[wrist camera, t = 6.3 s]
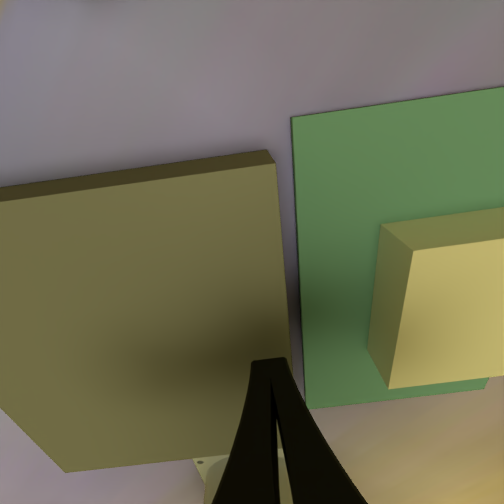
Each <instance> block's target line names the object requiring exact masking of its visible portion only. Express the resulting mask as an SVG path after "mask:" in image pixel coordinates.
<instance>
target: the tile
mask: <svg viewBox="0 0 504 504" xmlns="http://www.w3.org/2000/svg"><path fill="white" fill-rule="evenodd" d="M367 350H368V352H369V354H370V356H371V358H372V360H373V362H374V364H375V365H376V367H377V369H378V371H379V373H380V375H381V377H382V379H383V381H384V382H385V384H386V386H387V388H388V389H396V388H404V387H412V386H421V385H429V384H437V383H445V382H454V381H462V380H470V379H478V378H487V377H495V376H503V375H504V207H500V208H493V209H486V210H478V211H471V212H464V213H457V214H450V215H443V216H436V217H428V218H421V219H414V220H407V221H400V222H393V223H385V224H381V225H380V234H379V243H378V253H377V262H376V271H375V280H374V290H373V299H372V308H371V318H370V327H369V336H368V346H367Z"/></svg>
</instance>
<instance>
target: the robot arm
mask: <svg viewBox="0 0 504 504" xmlns="http://www.w3.org/2000/svg"><path fill="white" fill-rule="evenodd" d="M277 424H278V429H279V434H280V439H281V444H282V448H281V449H278V441H277ZM193 461H194V463H195V465H196V467H197V470H198V472H199V474H200V476H201V478H202V480H203V482H204V484H205V493H204V504H368V503H367V502H366V500H365V499H364V498H363V496H362V495H361V494H360V492H359V491H358V489H357V488H356V486H355V485H354V483H353V482H352V480H351V479H350V478H349V476H348V475H347V473H346V472H345V470H344V469H343V467H342V466H341V464H340V462H339V461H338V459H337V458H336V456H335V455H334V453H333V451H332V450H331V448H330V447H329V445H328V443H327V442H326V440H325V438H324V437H323V435H322V433H321V432H320V430H319V428H318V426H317V425H316V423H315V421H314V419H313V417H312V416H311V414H310V412H309V410H308V408H307V406H306V404H305V402H304V400H303V398H302V396H301V394H300V392H299V390H298V388H297V385H296V383H295V381H294V378H293V376H292V373H291V371H290V368H289V365H288V362H287V358H285V357H278V358H270V359H262V360H253V361H252V362H251V369H250V377H249V384H248V389H247V394H246V399H245V403H244V407H243V411H242V415H241V419H240V423H239V426H238V429H237V433H236V436H235V439H234V443H233V446H232V449H231V452H230V454H228V455H219V456H210V457H202V458H193Z"/></svg>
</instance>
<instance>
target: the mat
mask: <svg viewBox="0 0 504 504" xmlns="http://www.w3.org/2000/svg"><path fill="white" fill-rule="evenodd" d="M290 119H291V138H292V157H293V176H294V196H295V215H296V234H297V253H298V273H299V292H300V311H301V331H302V350H303V369H304V388H305V404H306V406H307V408H308V409H317V408H326V407H334V406H343V405H351V404H360V403H369V402H377V401H386V400H394V399H403V398H411V397H420V396H429V395H437V394H446V393H454V392H463V391H472V390H480V389H484V387H485V385H486V383H487V381H488V379H489V377H487V378H478V379H470V380H462V381H454V382H445V383H437V384H429V385H421V386H412V387H404V388H396V389H388V388H387V386H386V384H385V382H384V381H383V379H382V377H381V375H380V373H379V371H378V369H377V367H376V365H375V364H374V362H373V360H372V358H371V356H370V354H369V352H368V350H367V346H368V336H369V327H370V318H371V308H372V299H373V290H374V280H375V271H376V262H377V253H378V243H379V234H380V225H381V224H385V223H393V222H400V221H407V220H414V219H421V218H428V217H436V216H443V215H450V214H457V213H464V212H471V211H478V210H486V209H493V208H500V207H504V87H497V88H490V89H483V90H476V91H470V92H463V93H456V94H449V95H442V96H435V97H428V98H421V99H414V100H408V101H401V102H394V103H387V104H380V105H373V106H366V107H359V108H353V109H346V110H339V111H332V112H325V113H318V114H311V115H304V116H297V117H291V118H290Z"/></svg>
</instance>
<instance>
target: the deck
mask: <svg viewBox="0 0 504 504" xmlns="http://www.w3.org/2000/svg"><path fill="white" fill-rule="evenodd" d="M278 357H285V358H287V362H288V365H289V368H290V371H291V373H292V376H293V368H292V356H291V343H290V331H289V319H288V307H287V295H286V282H285V270H284V258H283V246H282V234H281V221H280V209H279V197H278V185H277V173H276V163H275V161H274V160H273V158H272V157H271V155H270V154H269V152H268V151H267V150H260V151H253V152H246V153H239V154H232V155H225V156H218V157H211V158H204V159H197V160H190V161H183V162H176V163H169V164H162V165H155V166H148V167H141V168H134V169H127V170H120V171H113V172H106V173H99V174H92V175H85V176H78V177H71V178H64V179H57V180H50V181H43V182H36V183H29V184H22V185H15V186H8V187H1V188H0V408H1V409H2V410H3V411H4V412H5V413H6V414H7V415H8V416H9V417H10V418H11V419H12V420H13V421H14V422H15V423H16V424H17V425H18V426H19V427H20V428H21V429H22V430H23V431H24V432H25V433H26V434H27V435H28V436H29V437H30V438H31V439H32V440H33V441H34V442H35V443H36V444H37V445H38V446H39V447H40V448H41V449H42V450H43V451H44V452H45V453H46V454H47V455H48V456H49V457H50V458H51V459H52V460H53V461H54V462H55V463H56V464H57V465H58V466H59V467H60V468H61V469H62V470H63V471H64V472H65V473H69V472H78V471H86V470H95V469H104V468H113V467H122V466H131V465H140V464H148V463H157V462H166V461H175V460H184V459H193V458H202V457H210V456H219V455H228V454H230V452H231V449H232V446H233V443H234V439H235V436H236V433H237V429H238V426H239V423H240V419H241V415H242V411H243V407H244V403H245V399H246V394H247V389H248V384H249V377H250V369H251V362H252V361H253V360H262V359H270V358H278ZM277 441H278V449H281V448H282V444H281V439H280V434H279V429H278V424H277Z"/></svg>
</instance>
